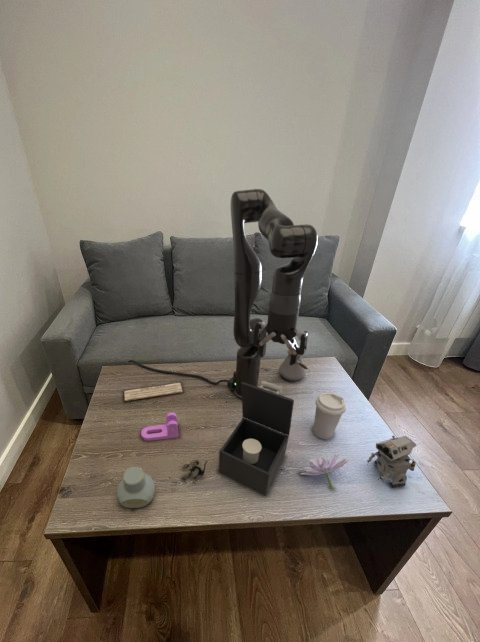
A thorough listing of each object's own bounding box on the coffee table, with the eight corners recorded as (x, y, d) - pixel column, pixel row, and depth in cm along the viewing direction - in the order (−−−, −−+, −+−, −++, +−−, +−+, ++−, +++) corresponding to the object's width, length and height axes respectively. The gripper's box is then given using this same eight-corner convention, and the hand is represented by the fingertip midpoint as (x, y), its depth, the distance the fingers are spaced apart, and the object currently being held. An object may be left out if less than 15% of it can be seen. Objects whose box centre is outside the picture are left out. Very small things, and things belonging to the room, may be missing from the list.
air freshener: (116, 510, 90) (111, 489, 84) (120, 484, 97) (115, 463, 91) (155, 508, 90) (152, 487, 85) (156, 482, 97) (153, 461, 92)
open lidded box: (265, 496, 93) (269, 475, 87) (218, 472, 100) (219, 451, 94) (284, 456, 104) (288, 435, 99) (241, 437, 111) (243, 417, 106)
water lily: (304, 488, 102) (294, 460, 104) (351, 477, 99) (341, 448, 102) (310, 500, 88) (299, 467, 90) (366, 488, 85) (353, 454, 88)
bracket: (176, 425, 117) (176, 411, 113) (178, 437, 112) (177, 423, 108) (141, 429, 115) (139, 416, 112) (141, 441, 111) (139, 427, 107)
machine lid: (293, 401, 86) (299, 388, 89) (240, 383, 94) (248, 371, 97) (288, 435, 98) (294, 423, 101) (242, 417, 106) (249, 405, 109)
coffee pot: (275, 368, 145) (279, 340, 137) (300, 368, 145) (306, 339, 137) (286, 399, 128) (291, 369, 119) (315, 399, 127) (322, 369, 119)
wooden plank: (125, 402, 128) (124, 398, 127) (124, 391, 134) (124, 387, 133) (182, 393, 132) (182, 390, 131) (179, 383, 138) (179, 379, 137)
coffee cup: (339, 444, 108) (350, 411, 100) (310, 440, 110) (318, 408, 101) (334, 424, 116) (344, 392, 108) (307, 420, 117) (314, 389, 109)
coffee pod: (237, 457, 97) (238, 446, 94) (248, 447, 100) (249, 435, 97) (253, 468, 94) (254, 456, 91) (263, 456, 97) (265, 445, 94)
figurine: (356, 465, 101) (369, 432, 93) (390, 461, 102) (406, 428, 94) (373, 491, 93) (389, 457, 85) (409, 486, 94) (429, 453, 86)
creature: (177, 479, 99) (199, 487, 95) (173, 467, 97) (195, 474, 92) (191, 461, 105) (211, 468, 100) (187, 449, 102) (208, 455, 98)
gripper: (316, 307, 81) (305, 360, 90) (263, 297, 88) (258, 347, 96) (308, 319, 76) (297, 374, 84) (252, 307, 82) (248, 359, 91)
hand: (276, 359), depth 90 cm, fingers open, 8 cm apart
